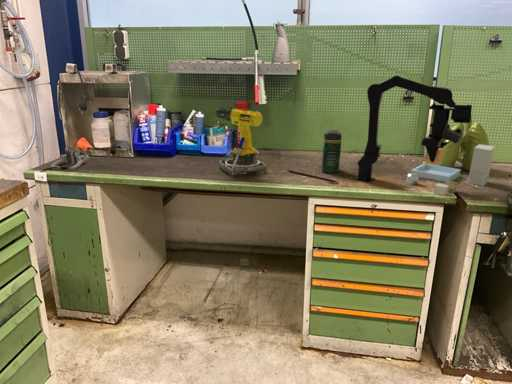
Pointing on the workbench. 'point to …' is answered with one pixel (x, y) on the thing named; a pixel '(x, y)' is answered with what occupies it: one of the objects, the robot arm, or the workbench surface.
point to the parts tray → (436, 173)
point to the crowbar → (315, 177)
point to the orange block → (438, 157)
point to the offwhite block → (441, 189)
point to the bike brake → (70, 160)
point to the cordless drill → (242, 141)
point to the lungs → (464, 145)
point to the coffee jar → (331, 151)
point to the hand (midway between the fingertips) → (434, 160)
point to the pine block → (451, 186)
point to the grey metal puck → (412, 178)
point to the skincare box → (481, 164)
